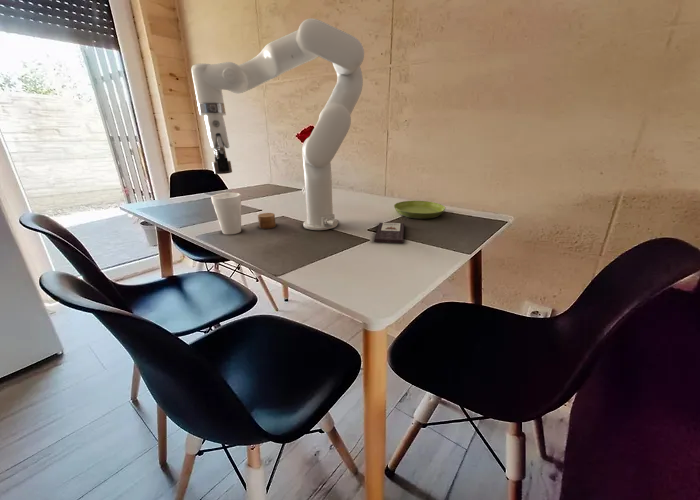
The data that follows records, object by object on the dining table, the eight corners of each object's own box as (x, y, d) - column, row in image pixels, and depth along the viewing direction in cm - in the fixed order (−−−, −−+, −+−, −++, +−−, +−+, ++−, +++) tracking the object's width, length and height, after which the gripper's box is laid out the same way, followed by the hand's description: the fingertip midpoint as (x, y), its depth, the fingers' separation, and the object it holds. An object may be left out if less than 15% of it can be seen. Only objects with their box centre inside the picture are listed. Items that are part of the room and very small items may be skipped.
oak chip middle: (278, 220, 115) (277, 214, 115) (263, 224, 111) (263, 218, 111) (269, 217, 119) (268, 211, 118) (255, 220, 115) (254, 215, 115)
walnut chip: (235, 172, 103) (233, 161, 102) (218, 174, 100) (216, 163, 98) (227, 171, 107) (225, 160, 106) (211, 173, 103) (209, 161, 102)
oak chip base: (278, 226, 116) (278, 220, 115) (264, 229, 112) (263, 224, 111) (270, 223, 120) (269, 217, 119) (256, 226, 116) (255, 220, 115)
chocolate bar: (374, 239, 98) (379, 222, 115) (374, 241, 99) (379, 224, 115) (403, 240, 97) (404, 223, 113) (402, 243, 97) (404, 225, 114)
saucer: (392, 220, 121) (392, 211, 120) (394, 207, 140) (394, 200, 139) (447, 221, 118) (448, 213, 117) (441, 208, 137) (442, 201, 136)
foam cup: (218, 237, 105) (211, 199, 100) (217, 229, 113) (210, 194, 108) (247, 233, 109) (241, 196, 104) (244, 226, 117) (239, 191, 112)
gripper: (228, 108, 91) (238, 172, 97) (221, 111, 105) (231, 166, 112) (200, 109, 88) (213, 174, 94) (197, 111, 102) (208, 168, 109)
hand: (222, 169), depth 103 cm, fingers closed on walnut chip, 5 cm apart
